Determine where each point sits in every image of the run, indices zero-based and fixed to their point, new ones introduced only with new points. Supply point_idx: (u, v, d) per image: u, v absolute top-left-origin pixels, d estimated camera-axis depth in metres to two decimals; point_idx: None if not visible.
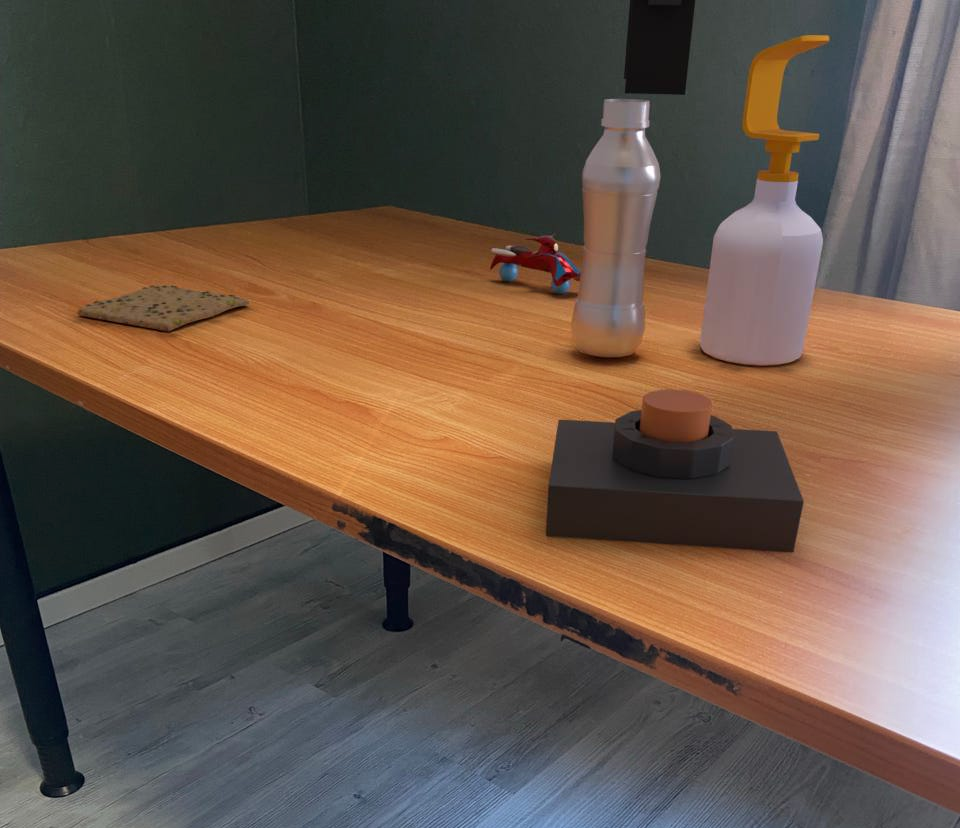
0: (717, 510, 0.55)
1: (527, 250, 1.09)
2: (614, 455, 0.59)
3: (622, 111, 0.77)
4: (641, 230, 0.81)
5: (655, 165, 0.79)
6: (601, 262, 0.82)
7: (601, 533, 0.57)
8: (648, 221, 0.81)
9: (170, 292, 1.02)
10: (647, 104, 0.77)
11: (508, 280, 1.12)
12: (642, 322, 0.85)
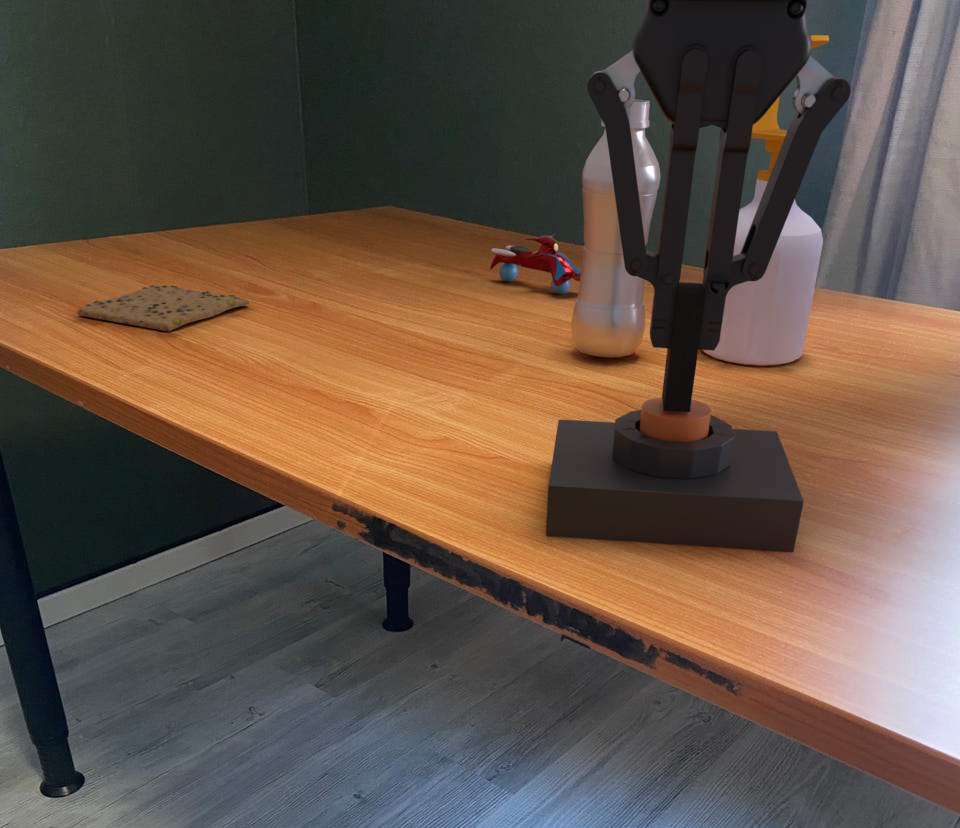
0: (717, 510, 0.55)
1: (527, 250, 1.09)
2: (614, 455, 0.59)
3: None
4: None
5: (655, 165, 0.79)
6: (601, 262, 0.82)
7: (601, 533, 0.57)
8: (648, 221, 0.81)
9: (170, 292, 1.02)
10: (647, 104, 0.77)
11: (508, 280, 1.12)
12: (642, 322, 0.85)
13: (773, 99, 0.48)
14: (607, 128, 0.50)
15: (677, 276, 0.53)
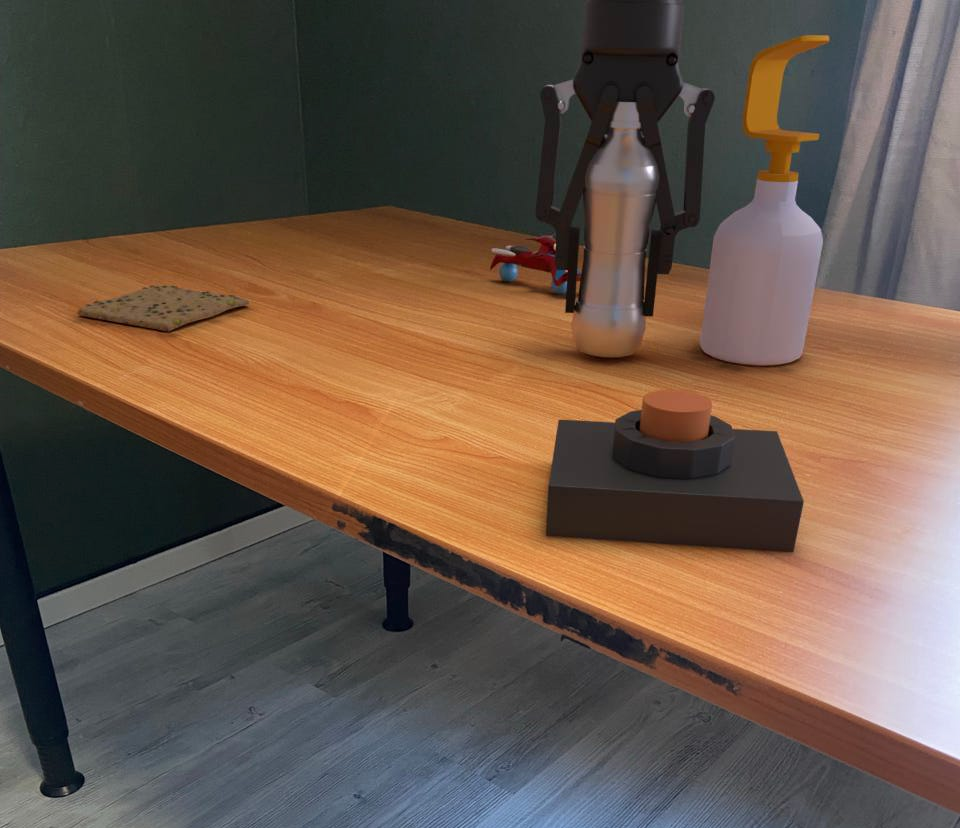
0: (717, 510, 0.55)
1: (527, 250, 1.09)
2: (614, 455, 0.59)
3: (623, 111, 0.77)
4: (642, 230, 0.81)
5: (655, 165, 0.79)
6: (601, 262, 0.82)
7: (601, 533, 0.57)
8: (649, 221, 0.81)
9: (170, 292, 1.02)
10: None
11: (508, 280, 1.12)
12: (643, 322, 0.85)
13: (660, 115, 0.77)
14: (546, 122, 0.78)
15: (569, 223, 0.82)
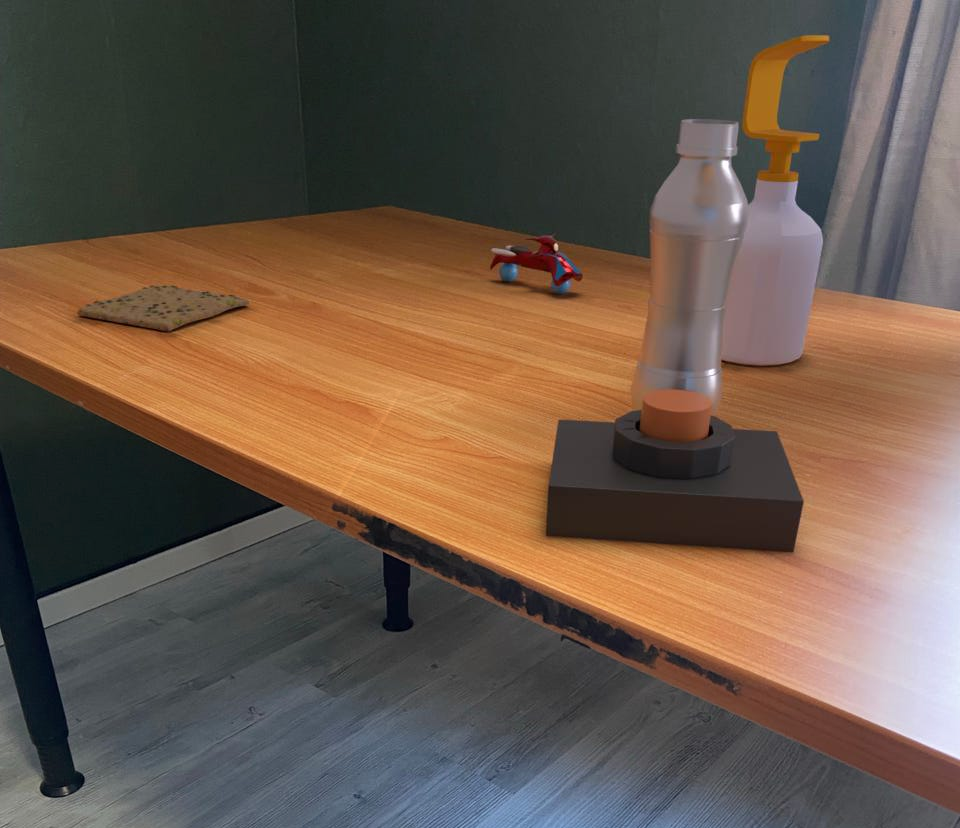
0: (717, 510, 0.55)
1: (527, 250, 1.09)
2: (614, 455, 0.59)
3: (706, 136, 0.61)
4: (724, 281, 0.65)
5: (744, 202, 0.63)
6: (672, 320, 0.66)
7: (601, 533, 0.57)
8: (732, 271, 0.65)
9: (170, 292, 1.02)
10: (736, 126, 0.61)
11: (508, 280, 1.12)
12: (719, 391, 0.70)
13: None
14: None
15: None
